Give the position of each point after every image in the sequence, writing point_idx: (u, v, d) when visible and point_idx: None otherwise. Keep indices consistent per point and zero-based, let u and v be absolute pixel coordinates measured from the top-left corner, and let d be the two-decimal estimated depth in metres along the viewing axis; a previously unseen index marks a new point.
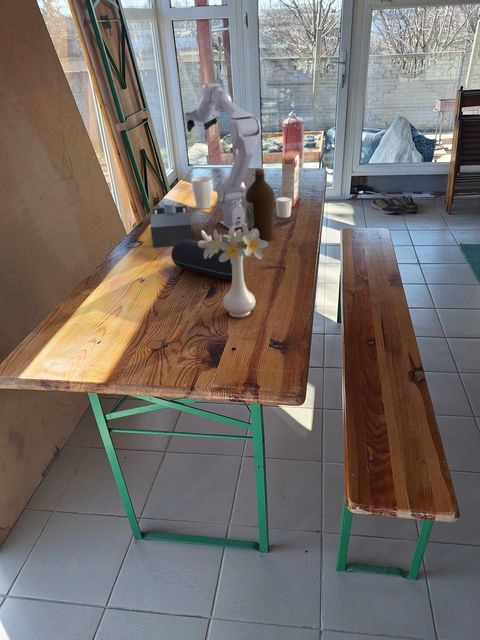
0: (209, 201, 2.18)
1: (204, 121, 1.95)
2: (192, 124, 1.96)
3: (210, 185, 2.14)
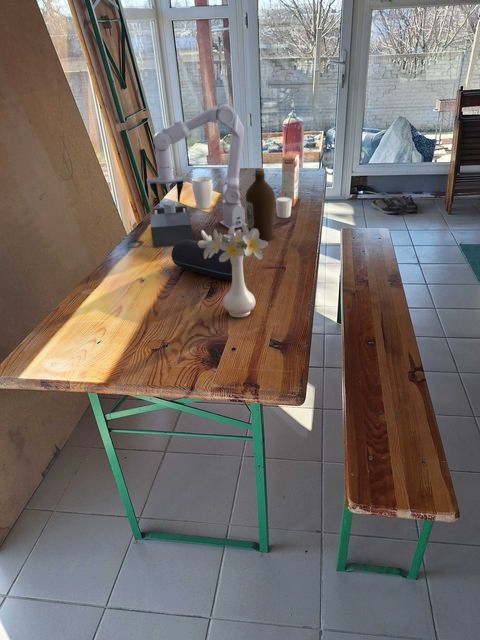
0: (209, 201, 2.18)
1: (164, 180, 1.86)
2: (154, 186, 1.87)
3: (210, 185, 2.14)
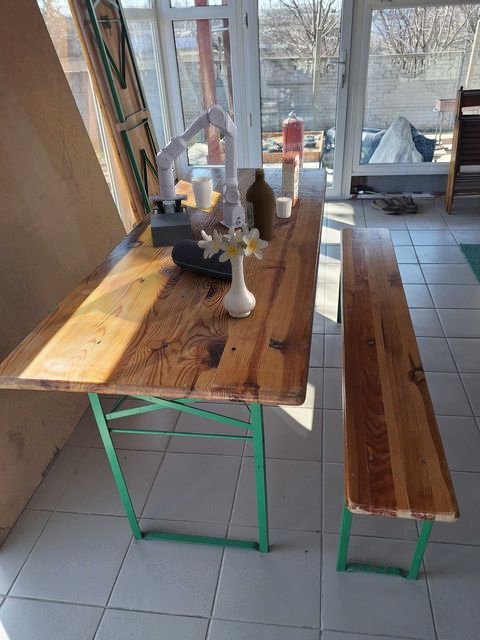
0: (209, 201, 2.18)
1: (167, 198, 1.90)
2: (160, 204, 1.91)
3: (210, 185, 2.14)
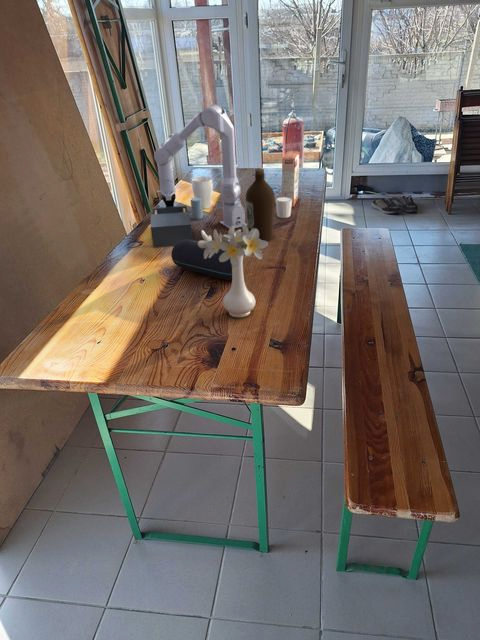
0: (209, 201, 2.18)
1: (175, 190, 1.99)
2: (173, 196, 2.00)
3: (210, 185, 2.14)
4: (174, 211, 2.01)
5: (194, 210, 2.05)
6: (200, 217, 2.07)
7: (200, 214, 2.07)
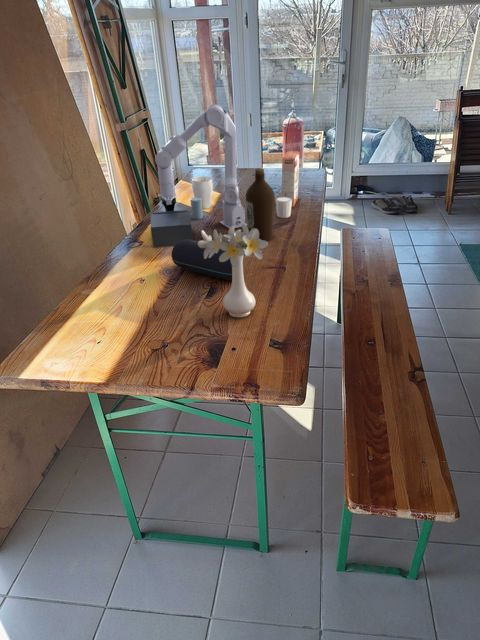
0: (209, 201, 2.18)
1: (175, 194, 1.95)
2: (174, 200, 1.95)
3: (210, 185, 2.14)
4: None
5: (194, 210, 2.05)
6: (200, 217, 2.07)
7: (200, 214, 2.07)
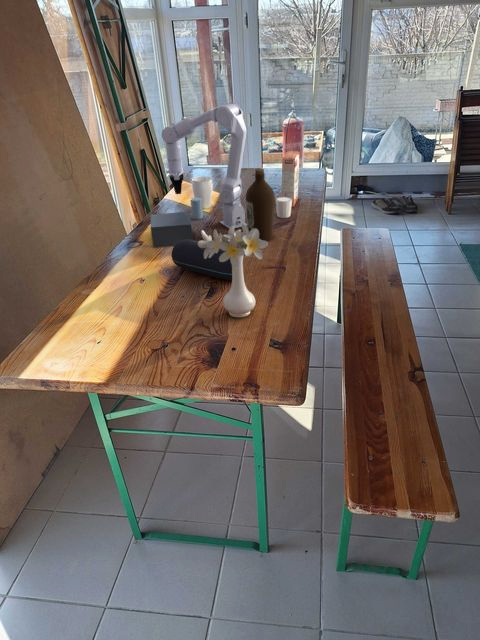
0: (209, 201, 2.18)
1: (183, 170, 1.98)
2: (181, 176, 1.98)
3: (210, 185, 2.14)
4: None
5: (194, 210, 2.05)
6: (200, 217, 2.07)
7: (200, 214, 2.07)
